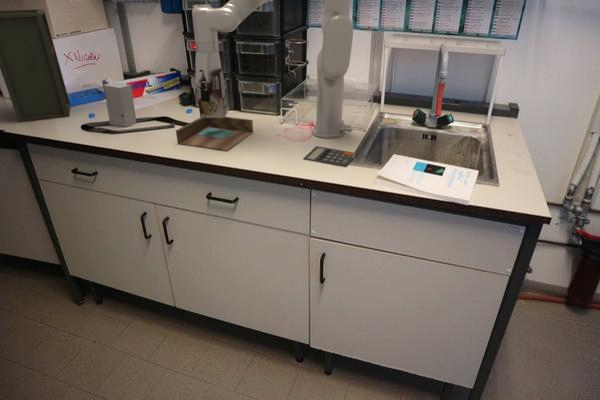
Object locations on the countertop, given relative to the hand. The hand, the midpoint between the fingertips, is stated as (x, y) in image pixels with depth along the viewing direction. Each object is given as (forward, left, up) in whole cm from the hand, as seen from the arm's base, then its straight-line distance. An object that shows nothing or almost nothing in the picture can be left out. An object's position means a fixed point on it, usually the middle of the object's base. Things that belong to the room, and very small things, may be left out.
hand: (212, 98), depth 148 cm
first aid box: (+82, +3, -14) cm, 83 cm away
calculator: (-46, +4, -15) cm, 49 cm away
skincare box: (+41, +2, -14) cm, 43 cm away
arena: (-2, +3, -14) cm, 14 cm away
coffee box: (0, 0, -7) cm, 7 cm away
